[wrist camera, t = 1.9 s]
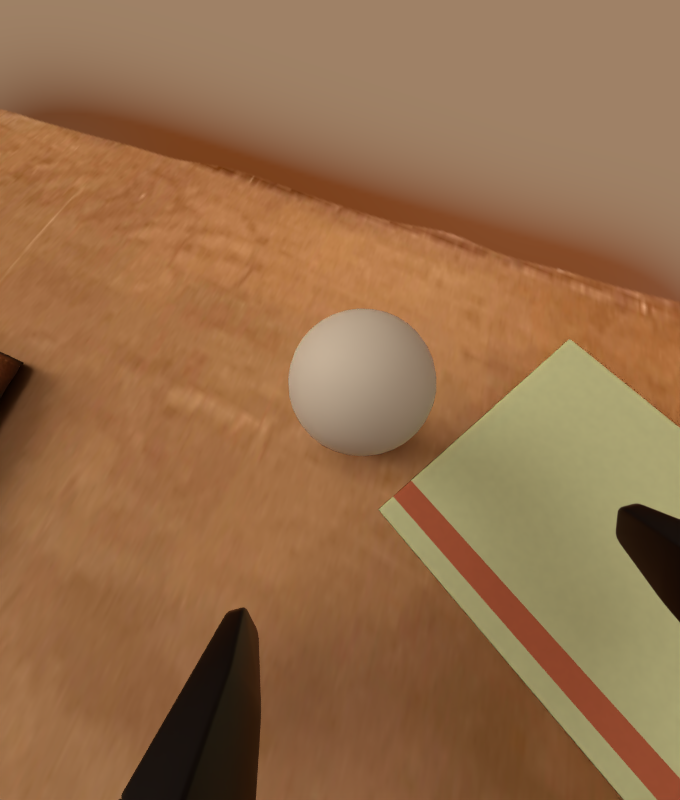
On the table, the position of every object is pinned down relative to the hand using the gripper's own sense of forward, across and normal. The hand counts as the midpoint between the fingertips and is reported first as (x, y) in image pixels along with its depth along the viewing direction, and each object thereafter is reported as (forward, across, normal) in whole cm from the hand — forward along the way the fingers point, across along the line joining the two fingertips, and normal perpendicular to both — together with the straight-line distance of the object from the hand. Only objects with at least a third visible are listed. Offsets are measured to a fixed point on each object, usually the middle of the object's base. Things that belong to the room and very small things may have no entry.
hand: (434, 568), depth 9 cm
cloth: (+7, -11, +12) cm, 18 cm away
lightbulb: (+14, 0, +4) cm, 15 cm away
